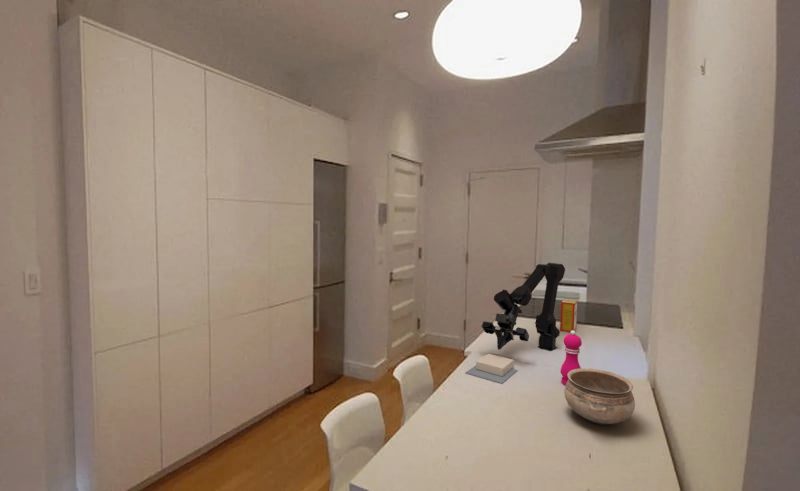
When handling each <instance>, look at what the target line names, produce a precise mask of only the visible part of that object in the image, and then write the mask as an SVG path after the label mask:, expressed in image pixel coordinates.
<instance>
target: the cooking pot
mask: <svg viewBox="0 0 800 491" xmlns="http://www.w3.org/2000/svg"><path fill="white" fill-rule="evenodd" d="M568 378H569V379H568V381H567V383H566V386H565V385H564V390H563V391H564V392H563V393H564V398H565V400H566V402H567V405H568V406H569V407H570V408H571V409H572V411H573V412H575V414H577V415H579V416H580V417H582V418H583V419H585V420H587V421H588V422H590V423H592V424H595V425H601V426H605V425H606V426H607V425H613V424H618V423H623V422H625V421H627V420H628V419H629V418H630V417H631V416H632V415H633V413H634V412H635V408H636V402H635V397H634V393H633V392H632V391H633V389H634V386H633V383H632V382H631V381H630V380H629V379H627V378H625V377H624V376H621V375H620V374H617V373H614V372H611V371H607V370H603V369H597V368H589V367H587V368H586V367H585V368H582V367H581V369H574V370H572V371H570V372H569V373H568Z"/></svg>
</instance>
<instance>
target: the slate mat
mask: <svg viewBox="0 0 800 491" xmlns="http://www.w3.org/2000/svg"><path fill="white" fill-rule="evenodd" d="M517 372H518V369H516V368H512V369H511V370H510V371H508V372H507V373H506V374H505V375H504V376H500V375H496V374H492V373H489V372H485V371H482V370H478V369H476V365H474V366H472V367H471V368H470V369H468V370H467V371H465V374H467V375H470V376H473V377H477V378H480V379H484V380H486V381H491V382H492V383H497V384H500V385H503V384H504V383H506V382H507V380H508V379H510V378H511V377H512V376H514V374H516V373H517Z"/></svg>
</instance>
